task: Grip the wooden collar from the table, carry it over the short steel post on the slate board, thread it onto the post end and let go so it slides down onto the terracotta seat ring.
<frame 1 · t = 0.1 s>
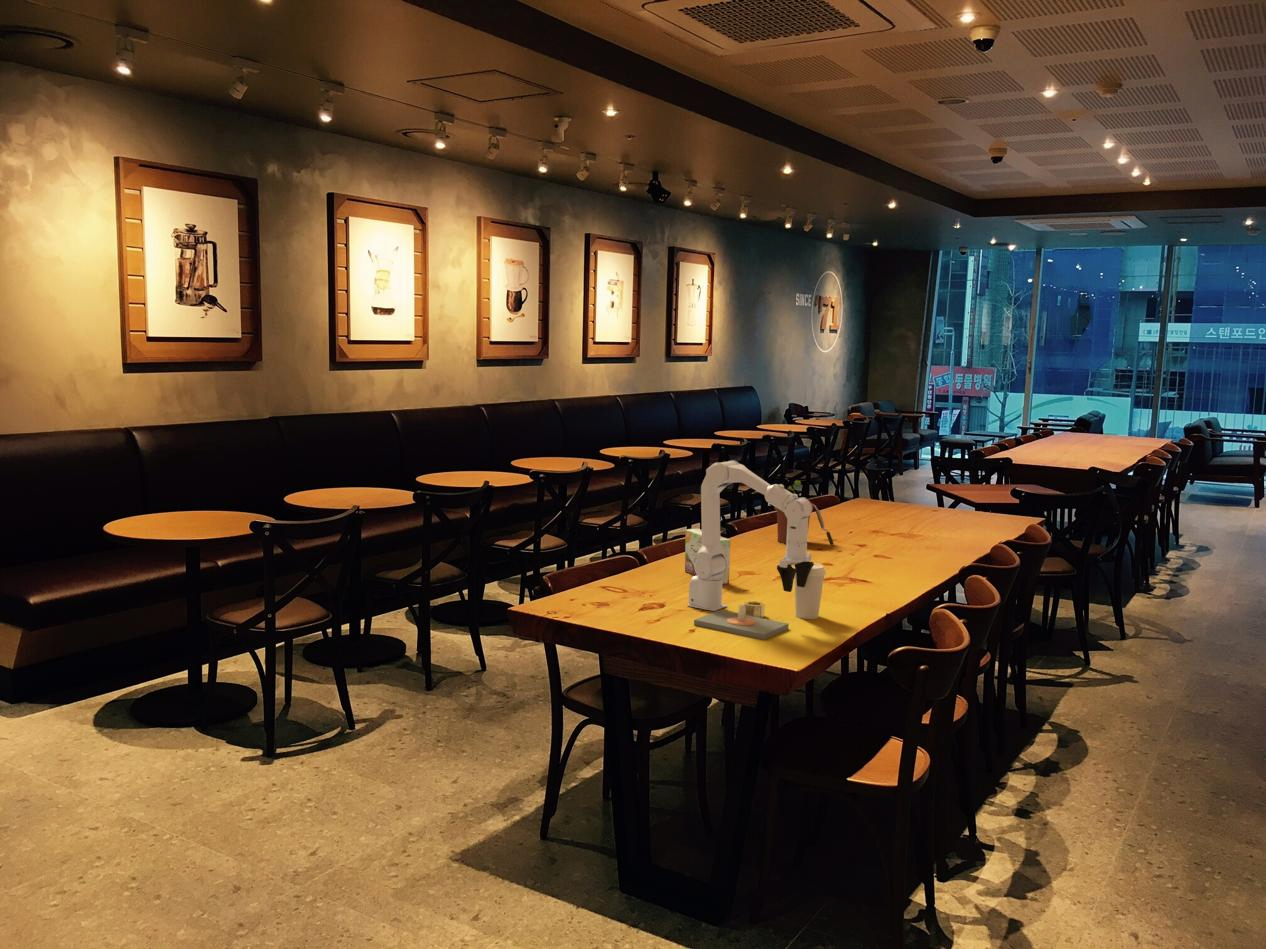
hand: (794, 589, 283), 10 cm above the table, tool pointing down, fingers open, 7 cm apart
wooden collar: (753, 615, 292), on the table
post board: (741, 626, 279), on the table
coffee cup: (806, 616, 293), on the table
snack box: (706, 578, 339), on the table
potted plant: (799, 543, 405), on the table
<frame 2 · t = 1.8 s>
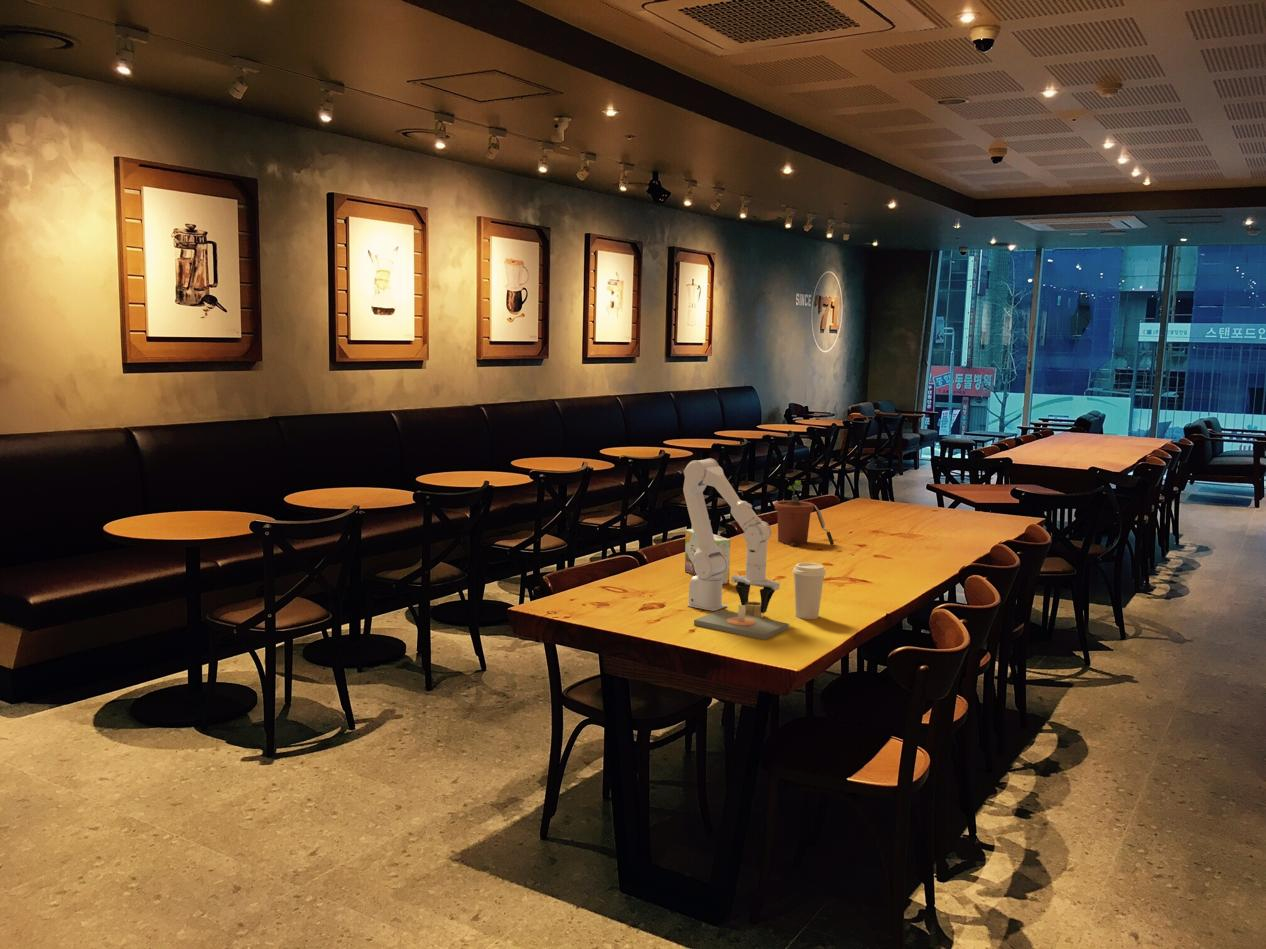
hand: (754, 610, 291), 2 cm above the table, tool pointing down, fingers closed on wooden collar, 6 cm apart
wooden collar: (753, 615, 292), on the table, touching gripper
everything else where it was.
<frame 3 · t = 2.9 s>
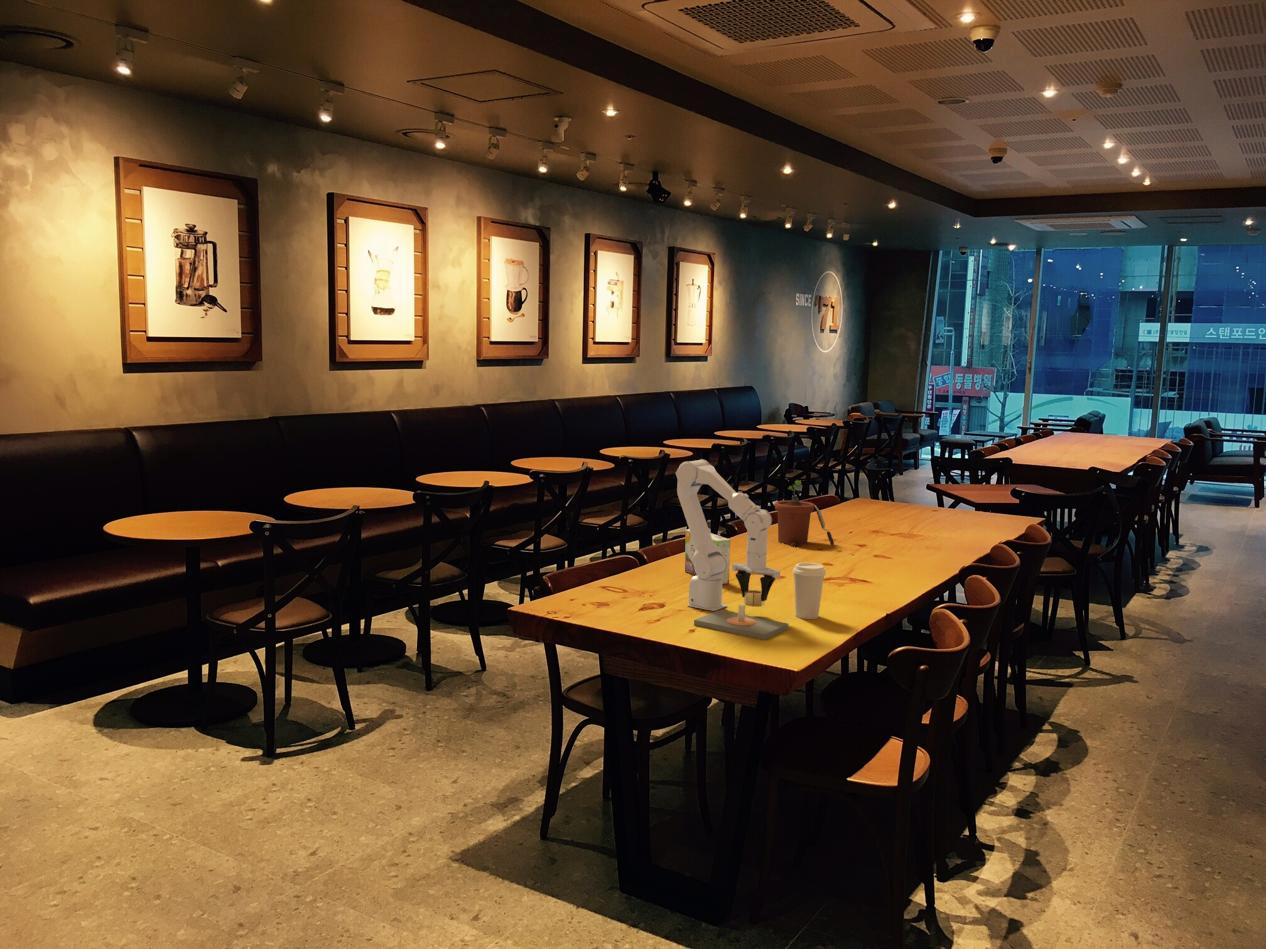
hand: (754, 598, 291), 5 cm above the table, tool pointing down, fingers closed on wooden collar, 6 cm apart
wooden collar: (754, 604, 291), point 3 cm above the table, touching gripper
everything else where it was.
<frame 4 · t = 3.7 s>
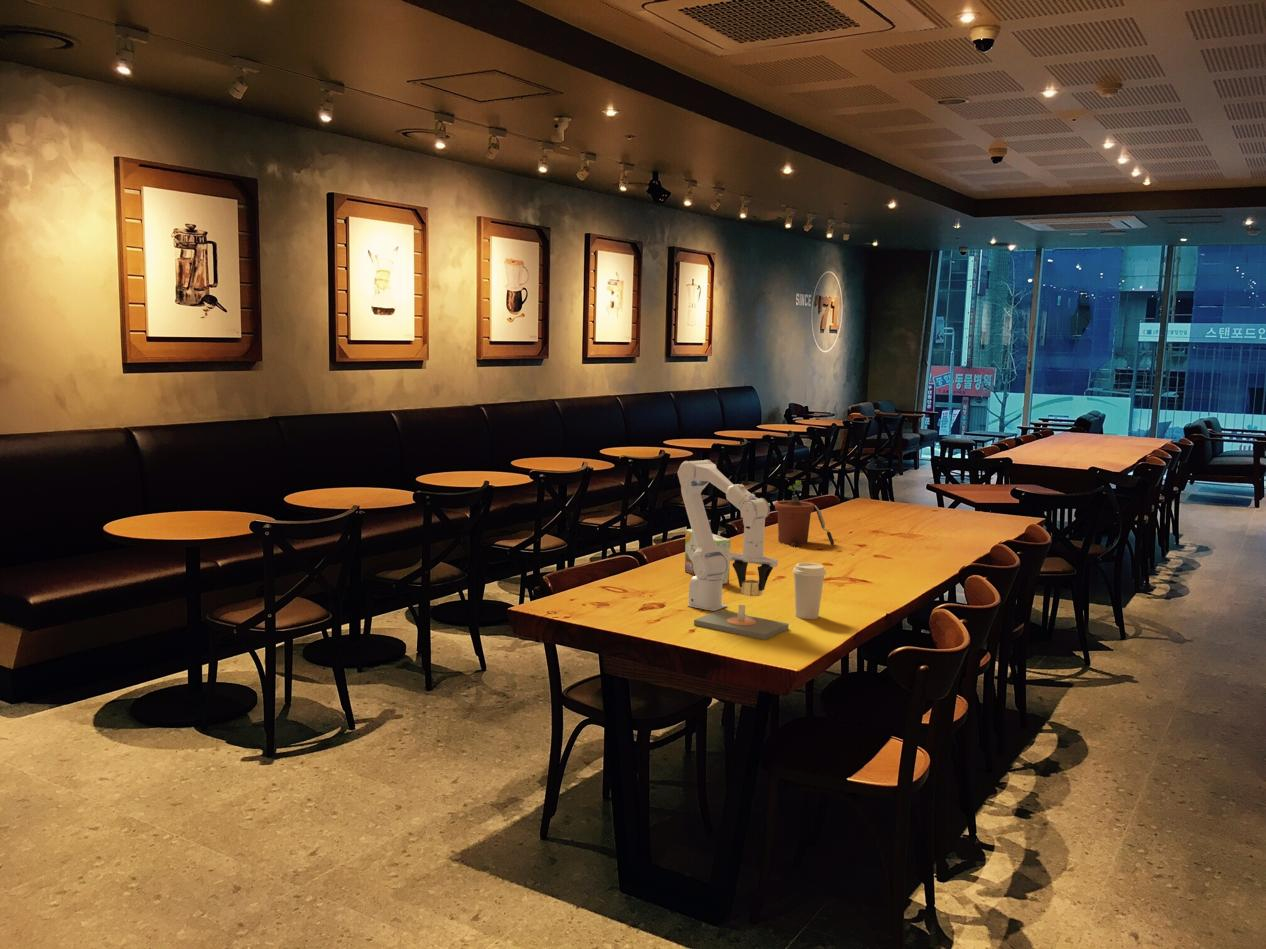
hand: (751, 588, 287), 9 cm above the table, tool pointing down, fingers closed on wooden collar, 6 cm apart
wooden collar: (751, 593, 287), point 7 cm above the table, touching gripper
everything else where it was.
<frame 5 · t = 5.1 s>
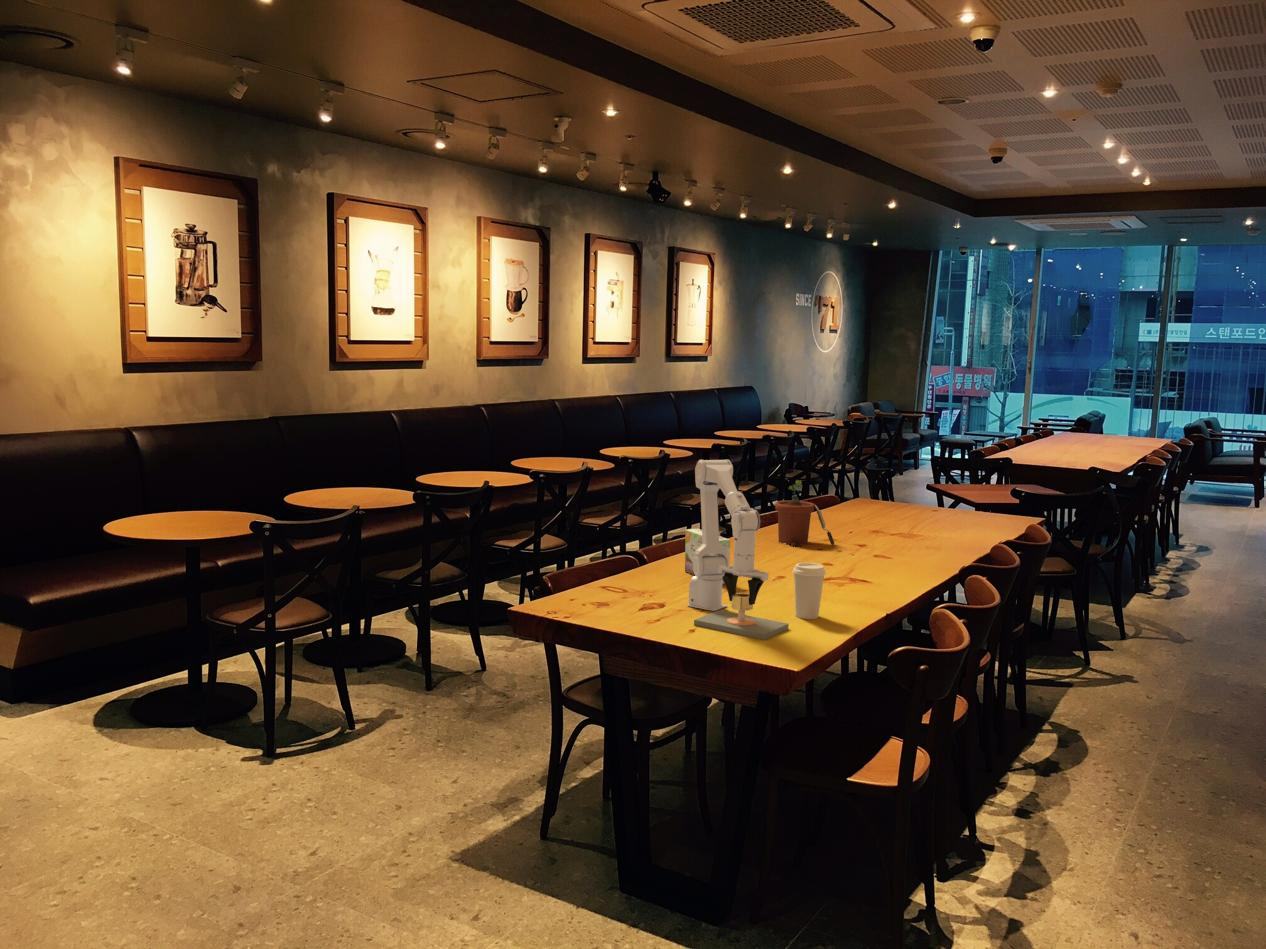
hand: (742, 602, 278), 7 cm above the table, tool pointing down, fingers closed on wooden collar, 6 cm apart
wooden collar: (742, 607, 279), point 5 cm above the table, touching gripper
everything else where it was.
when the fingers open (7 cm above the table, at t = 5.9 s): wooden collar drops 4 cm, resting on post board.
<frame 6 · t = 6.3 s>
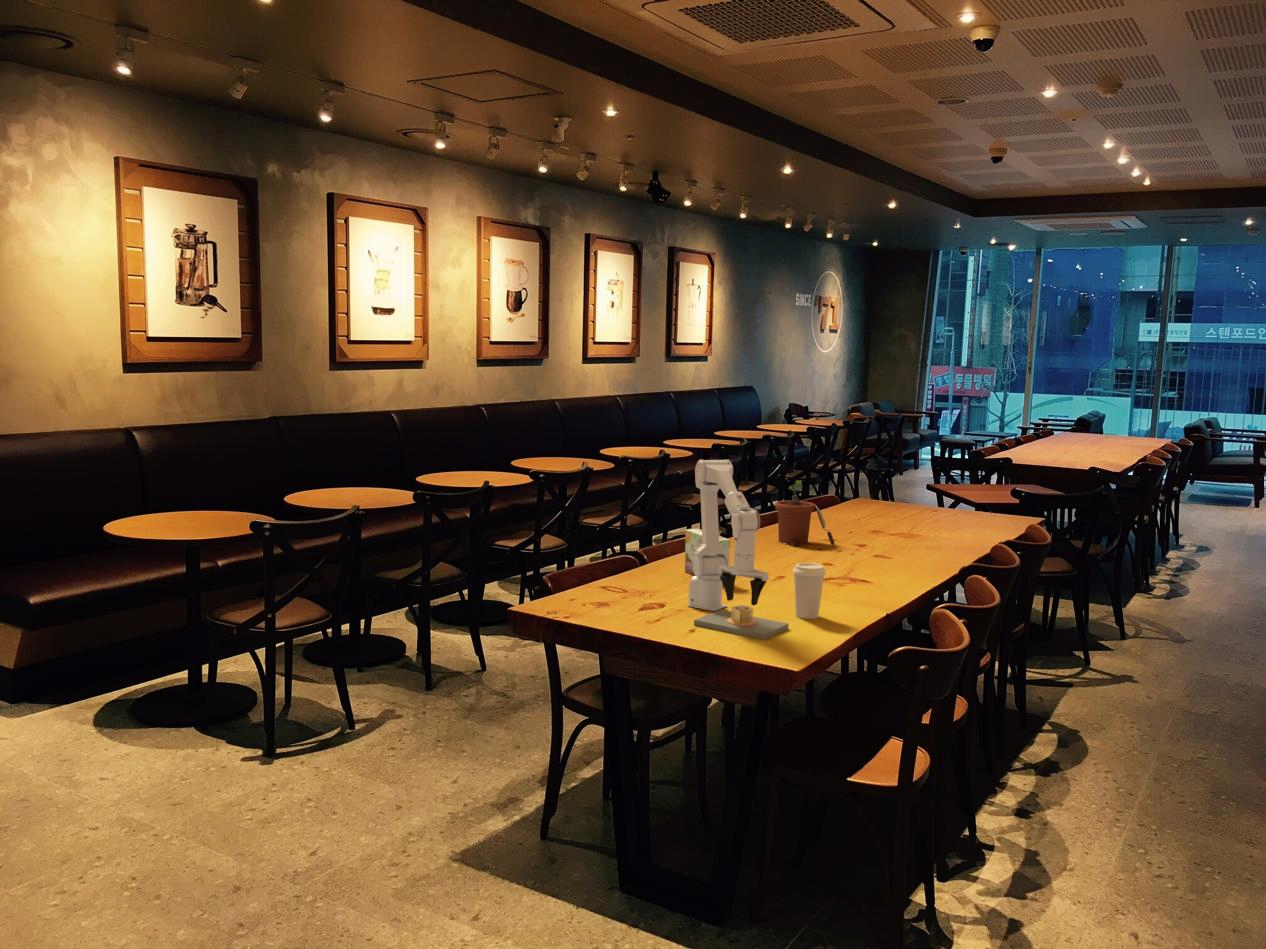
hand: (742, 602, 278), 7 cm above the table, tool pointing down, fingers open, 7 cm apart
wooden collar: (741, 620, 279), point 2 cm above the table, touching post board
everything else where it was.
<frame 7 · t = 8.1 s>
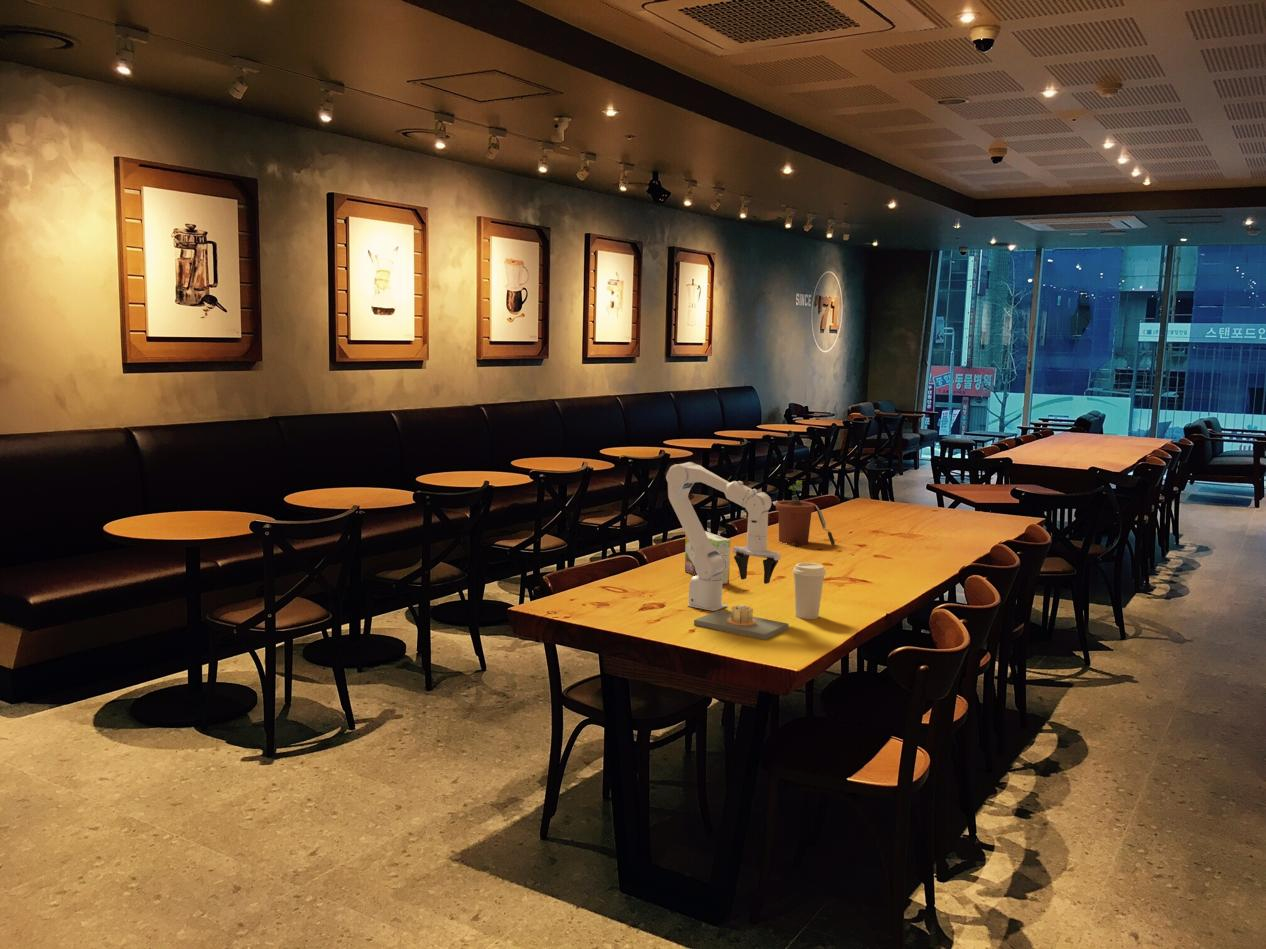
hand: (755, 581, 292), 10 cm above the table, tool pointing down, fingers open, 7 cm apart
nothing on the table moved.
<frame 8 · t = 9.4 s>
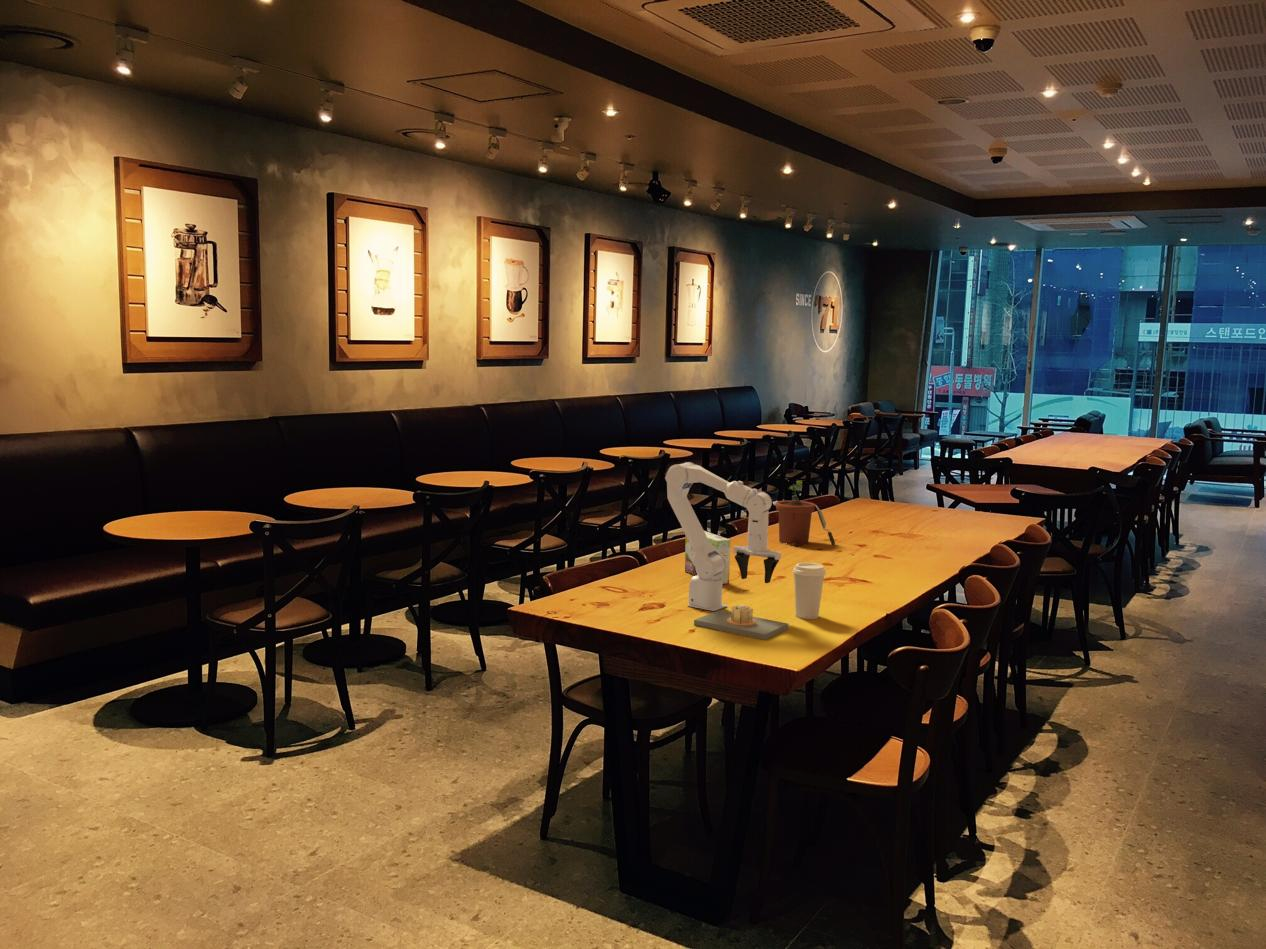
hand: (755, 580, 293), 10 cm above the table, tool pointing down, fingers open, 7 cm apart
nothing on the table moved.
at the end: wooden collar 0.1 cm off-centre on the post board, point 1.7 cm above the post board's base; wooden collar tilted 0°; the gripper is holding nothing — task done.
